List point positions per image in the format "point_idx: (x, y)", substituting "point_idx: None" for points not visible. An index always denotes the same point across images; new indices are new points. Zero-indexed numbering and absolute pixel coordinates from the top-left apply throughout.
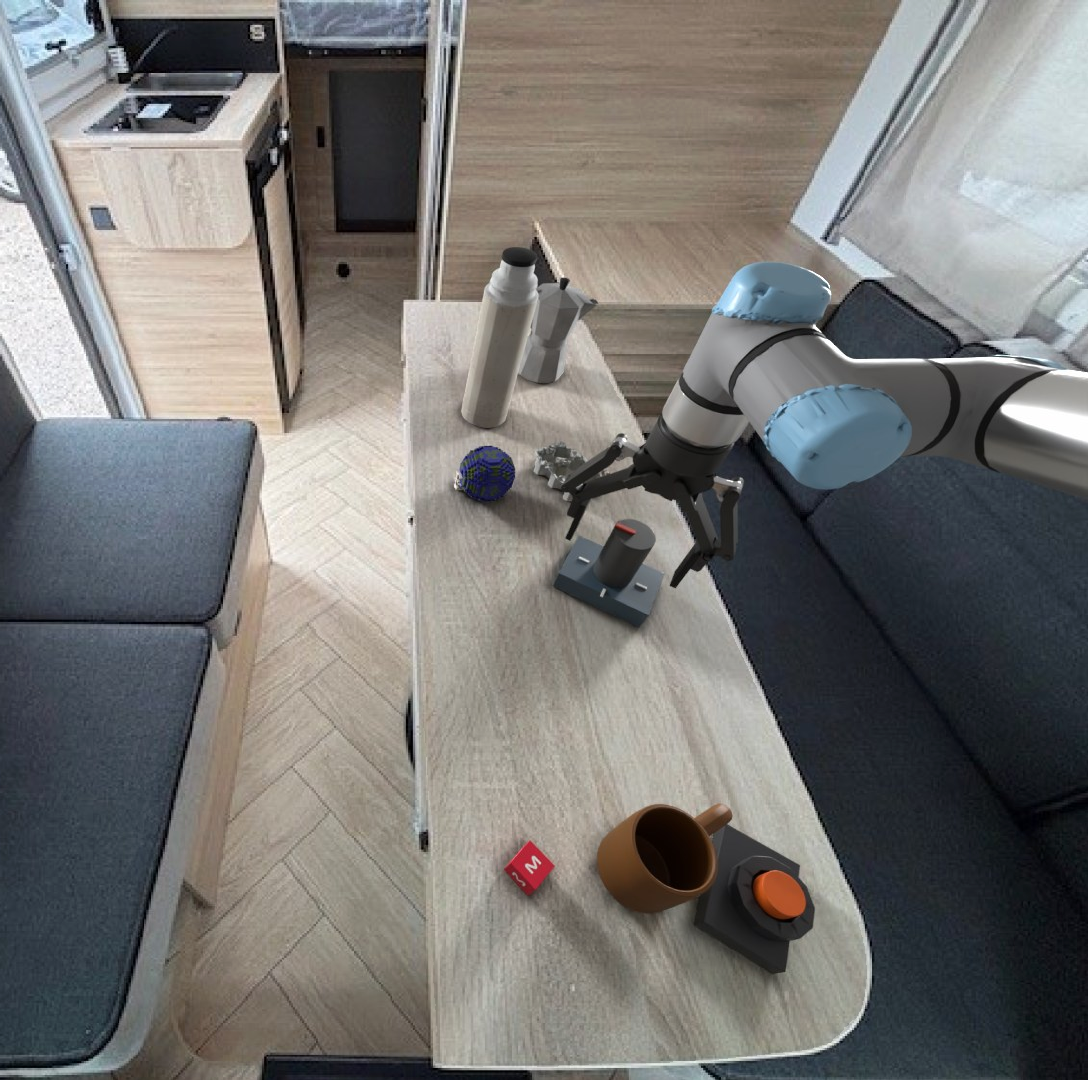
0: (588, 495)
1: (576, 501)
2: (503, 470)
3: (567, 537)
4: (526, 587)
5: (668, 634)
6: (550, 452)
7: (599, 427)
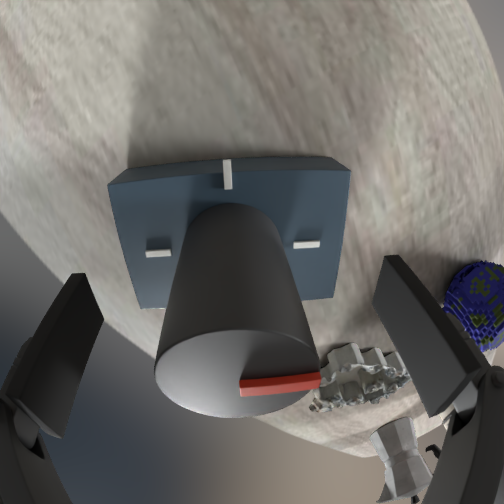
0: (496, 417)
1: (491, 367)
2: (487, 324)
3: (397, 260)
4: (376, 125)
5: (82, 194)
6: (391, 386)
7: (326, 426)
